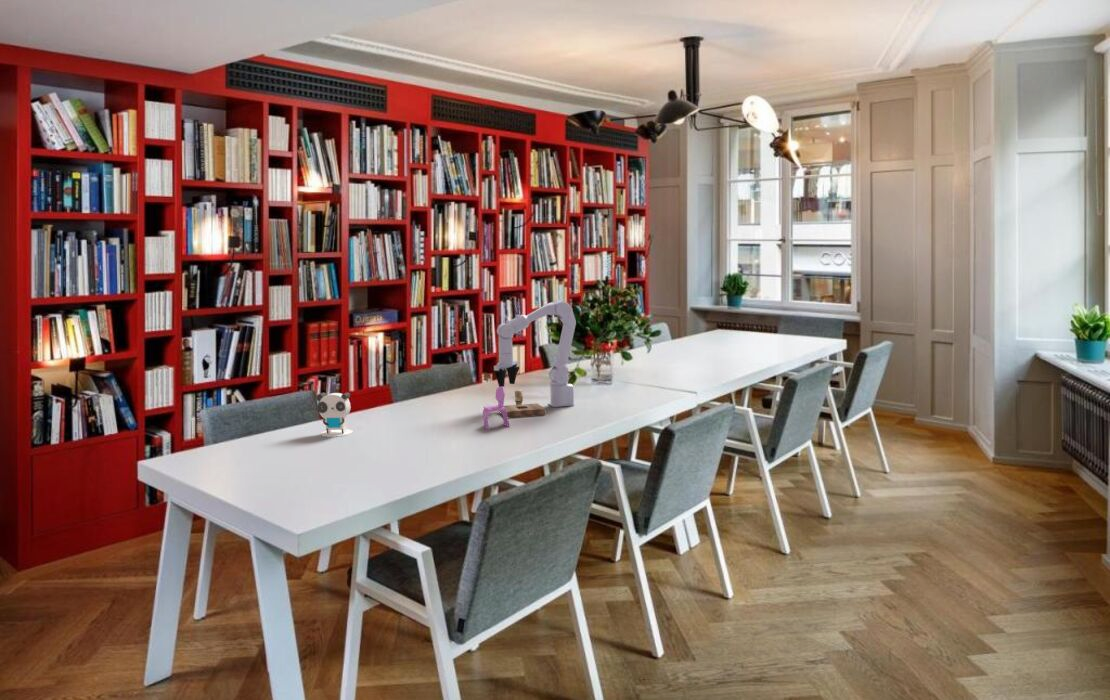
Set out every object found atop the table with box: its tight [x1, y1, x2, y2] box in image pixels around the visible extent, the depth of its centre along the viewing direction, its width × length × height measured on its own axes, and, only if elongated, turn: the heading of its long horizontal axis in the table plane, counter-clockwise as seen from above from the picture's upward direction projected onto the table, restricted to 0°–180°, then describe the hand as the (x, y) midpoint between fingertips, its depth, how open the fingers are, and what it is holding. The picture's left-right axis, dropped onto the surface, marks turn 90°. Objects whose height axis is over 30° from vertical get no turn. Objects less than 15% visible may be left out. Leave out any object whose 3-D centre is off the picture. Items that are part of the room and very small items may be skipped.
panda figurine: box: [316, 392, 353, 438], centre depth 298 cm, size 12×11×15 cm
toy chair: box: [482, 386, 511, 430], centre depth 305 cm, size 8×9×15 cm
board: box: [498, 403, 546, 418], centre depth 328 cm, size 16×12×2 cm
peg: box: [514, 389, 524, 405], centre depth 341 cm, size 3×3×7 cm
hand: (506, 385), depth 338 cm, fingers open, 7 cm apart
